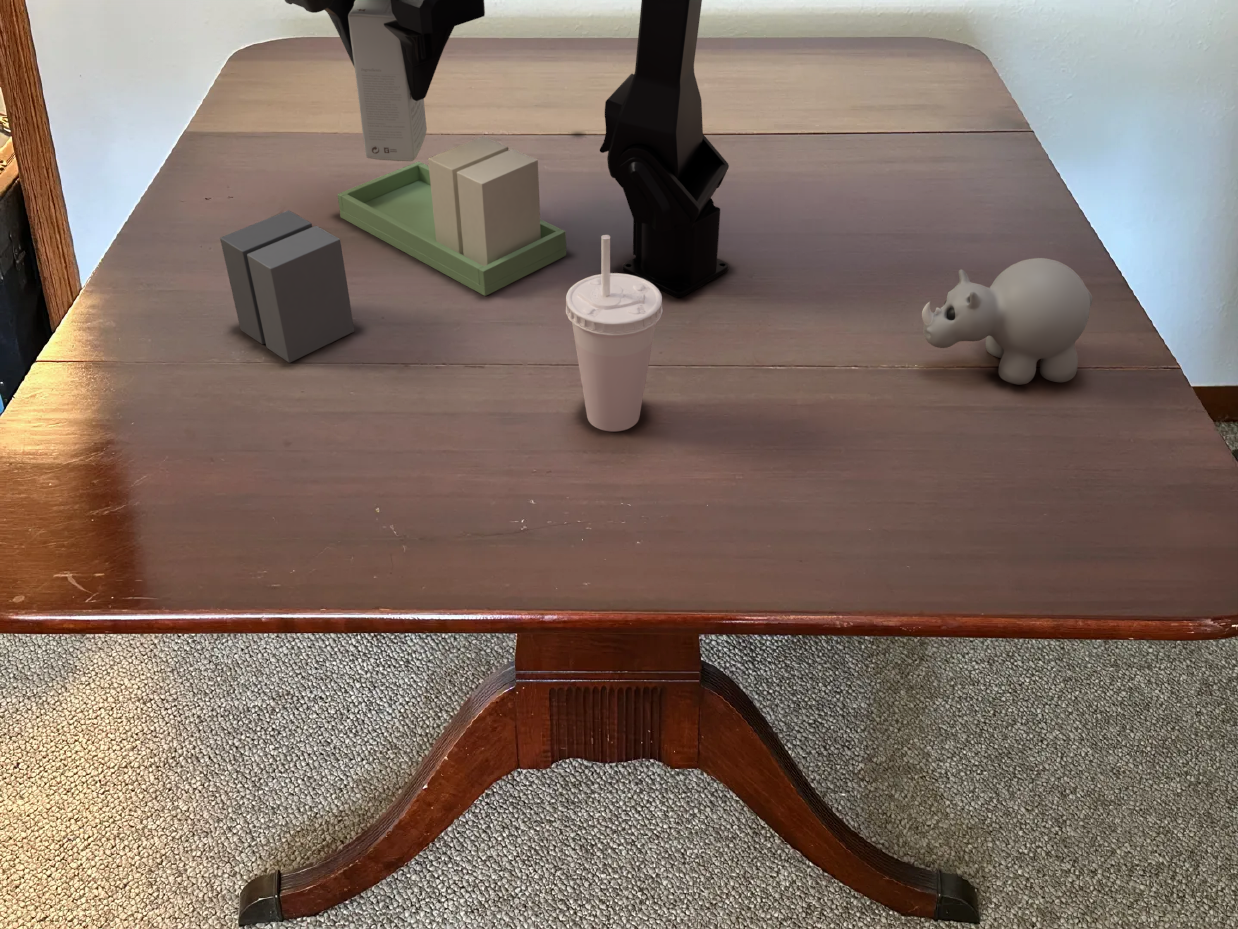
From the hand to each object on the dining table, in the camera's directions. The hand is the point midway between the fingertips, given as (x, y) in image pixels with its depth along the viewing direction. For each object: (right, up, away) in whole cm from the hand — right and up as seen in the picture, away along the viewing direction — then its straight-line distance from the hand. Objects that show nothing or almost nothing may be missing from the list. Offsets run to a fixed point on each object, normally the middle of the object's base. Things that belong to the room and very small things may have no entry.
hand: (391, 87), depth 99 cm
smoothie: (+18, -28, -14) cm, 36 cm away
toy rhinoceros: (+46, -24, -9) cm, 53 cm away
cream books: (+8, -13, +3) cm, 16 cm away
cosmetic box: (0, -4, +3) cm, 5 cm away
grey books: (-6, -21, -6) cm, 22 cm away
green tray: (+4, -11, +6) cm, 13 cm away
